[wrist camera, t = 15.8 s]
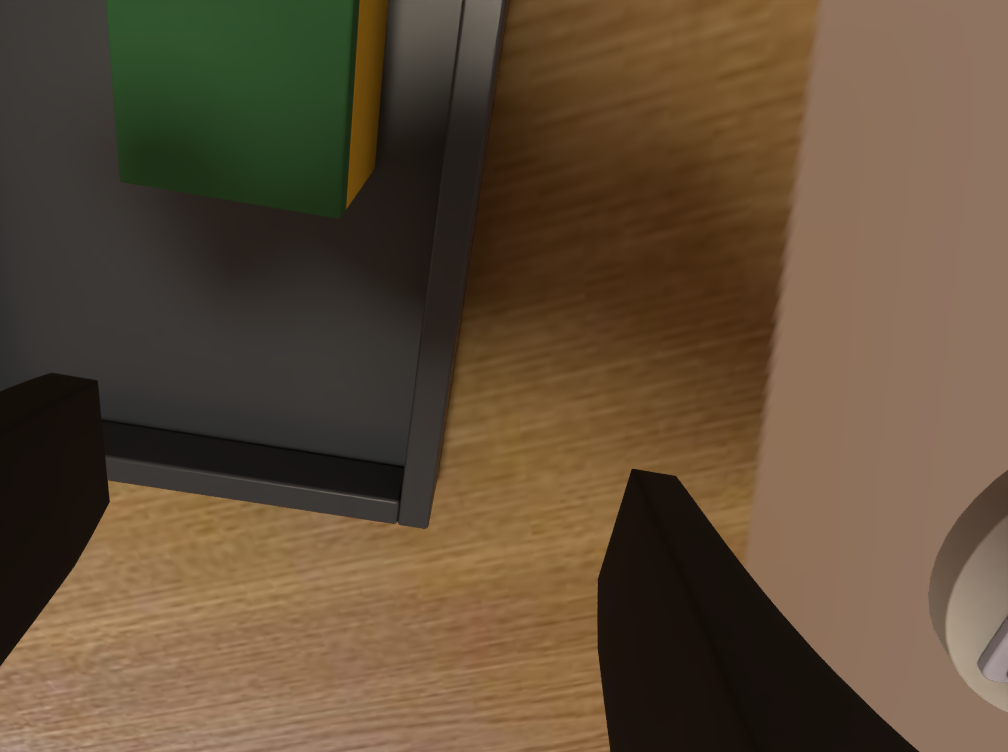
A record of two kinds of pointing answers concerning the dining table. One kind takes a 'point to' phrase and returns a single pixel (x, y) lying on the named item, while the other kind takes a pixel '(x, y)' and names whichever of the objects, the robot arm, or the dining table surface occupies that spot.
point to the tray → (248, 276)
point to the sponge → (249, 98)
